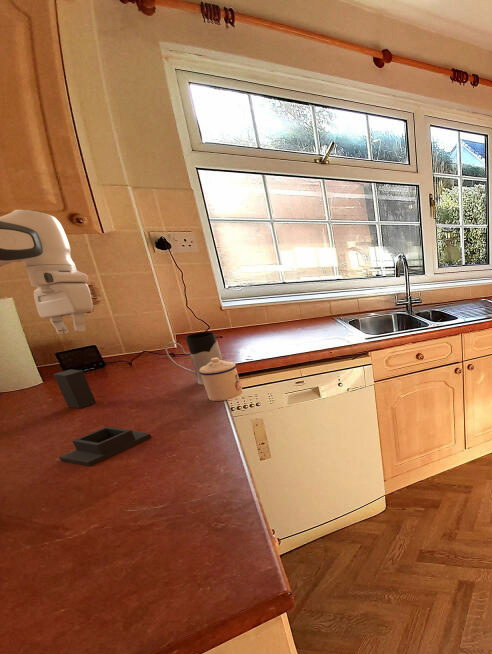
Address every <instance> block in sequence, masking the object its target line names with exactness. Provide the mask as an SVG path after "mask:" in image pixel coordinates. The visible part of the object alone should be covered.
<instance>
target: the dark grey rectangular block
mask: <svg viewBox="0 0 492 654" xmlns="http://www.w3.org/2000/svg"><path fill="white" fill-rule="evenodd" d="M52 375H53V378H54V379H55V382H56V384H57V386H58V389H59V391H60V393H61V394H62V396H63V399H64V401H65V403H66V405H67V407H68V408H72V409H79V410H80V409H83V408H86V407H90V406H92V405H96V404H97V400H96V399H95V396H94V394H93V392H92V389H91V387H90V385H89V383H88V380H87V378H86V376H85V374H84V371H83V370H78V369H66V370H63V371H59V372H55V373H53V374H52Z"/></svg>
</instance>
